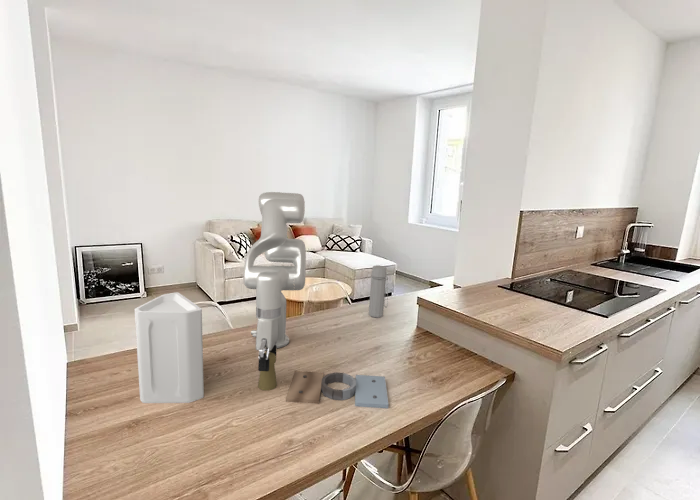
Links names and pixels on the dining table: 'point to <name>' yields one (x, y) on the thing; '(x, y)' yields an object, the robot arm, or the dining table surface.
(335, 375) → the leaf
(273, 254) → the robot arm
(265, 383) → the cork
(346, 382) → the leaf
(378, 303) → the water bottle
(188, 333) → the white triangular canister
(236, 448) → the dining table surface
